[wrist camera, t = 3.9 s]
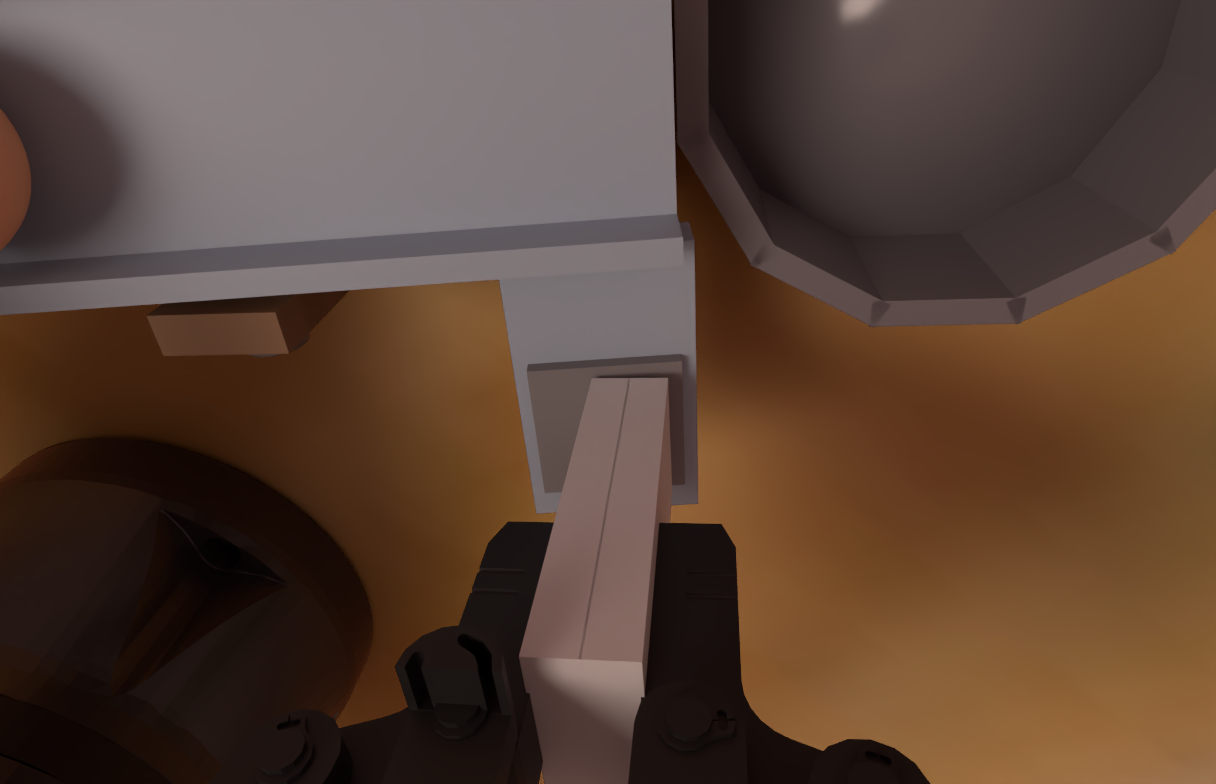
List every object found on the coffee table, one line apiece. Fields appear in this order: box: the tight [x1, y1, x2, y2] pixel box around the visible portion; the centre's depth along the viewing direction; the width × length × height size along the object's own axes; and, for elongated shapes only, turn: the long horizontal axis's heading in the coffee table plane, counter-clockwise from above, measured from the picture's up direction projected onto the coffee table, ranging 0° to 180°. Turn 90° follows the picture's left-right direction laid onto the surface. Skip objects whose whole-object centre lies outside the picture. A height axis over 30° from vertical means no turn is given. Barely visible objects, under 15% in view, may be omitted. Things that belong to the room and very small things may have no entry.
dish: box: [674, 0, 1216, 327], centre depth 15 cm, size 11×11×4 cm
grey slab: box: [0, 0, 698, 514], centre depth 13 cm, size 16×12×3 cm
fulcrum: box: [146, 290, 349, 357], centre depth 15 cm, size 16×9×9 cm, turn 94°
